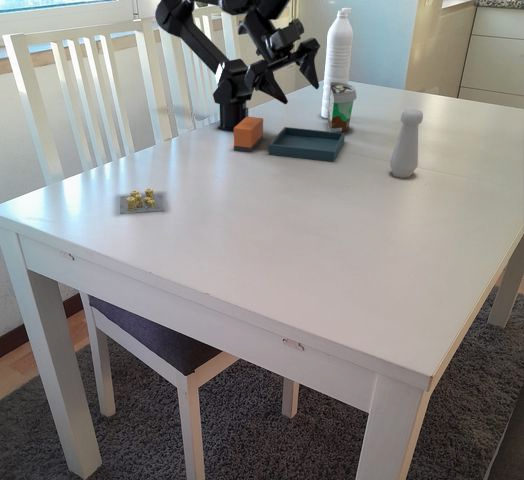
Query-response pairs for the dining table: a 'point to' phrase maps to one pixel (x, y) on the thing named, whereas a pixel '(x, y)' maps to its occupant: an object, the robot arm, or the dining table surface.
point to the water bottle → (337, 56)
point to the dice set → (141, 202)
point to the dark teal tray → (307, 144)
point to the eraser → (248, 134)
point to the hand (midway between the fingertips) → (302, 95)
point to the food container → (340, 106)
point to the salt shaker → (406, 144)
